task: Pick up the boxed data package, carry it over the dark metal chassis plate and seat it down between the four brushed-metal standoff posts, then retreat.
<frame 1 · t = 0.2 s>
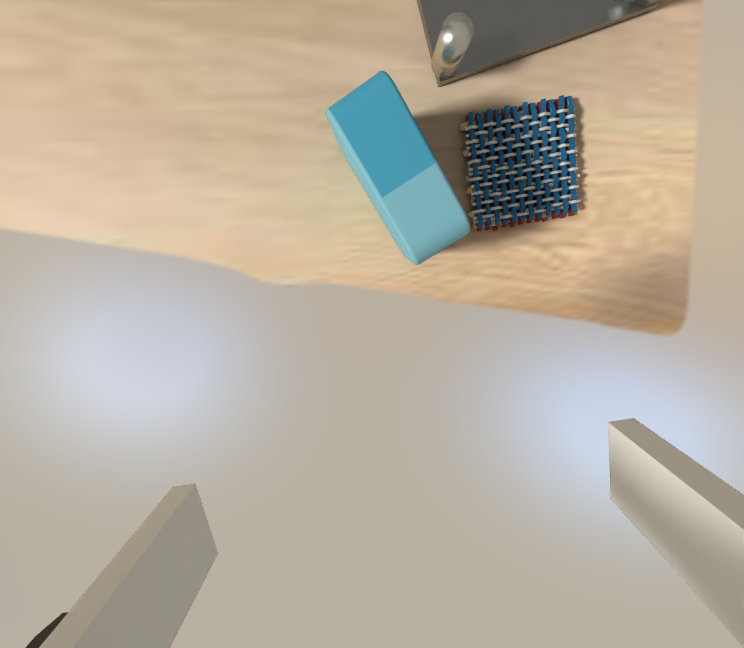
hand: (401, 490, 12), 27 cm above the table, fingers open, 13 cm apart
data package: (393, 193, 35), on the table
woven mat: (516, 170, 35), on the table
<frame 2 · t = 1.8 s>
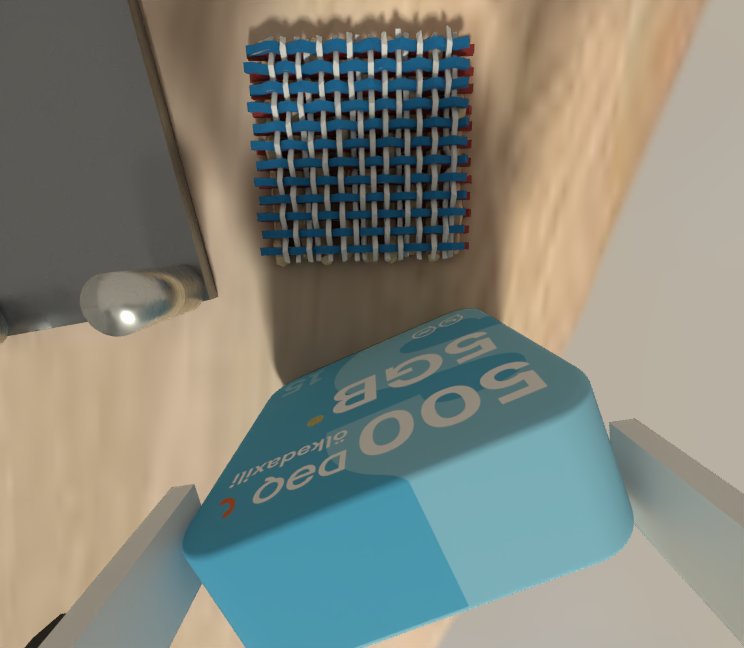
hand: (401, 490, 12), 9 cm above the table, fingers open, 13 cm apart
data package: (386, 379, 21), on the table
woven mat: (364, 161, 19), on the table
chassis: (35, 129, 18), on the table
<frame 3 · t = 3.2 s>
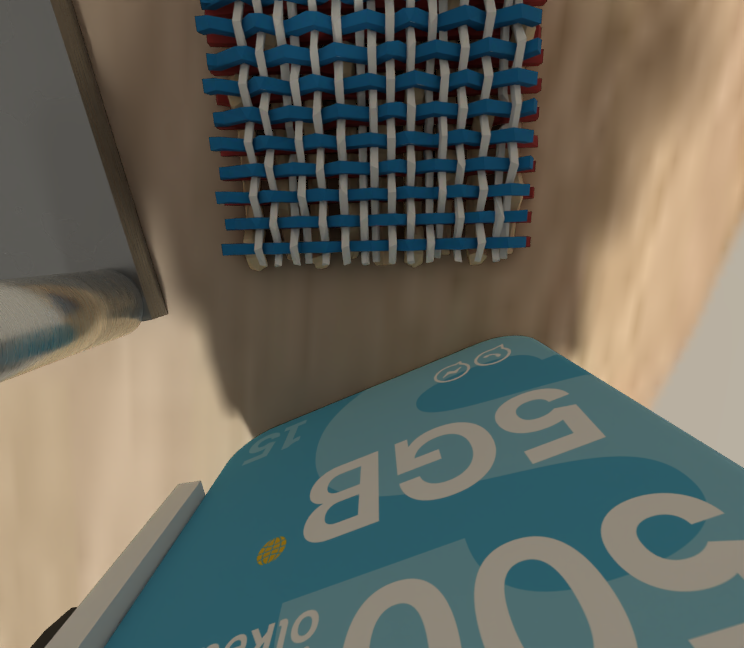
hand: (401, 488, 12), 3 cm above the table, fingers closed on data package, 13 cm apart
data package: (395, 429, 15), on the table, touching gripper
woven mat: (377, 118, 13), on the table
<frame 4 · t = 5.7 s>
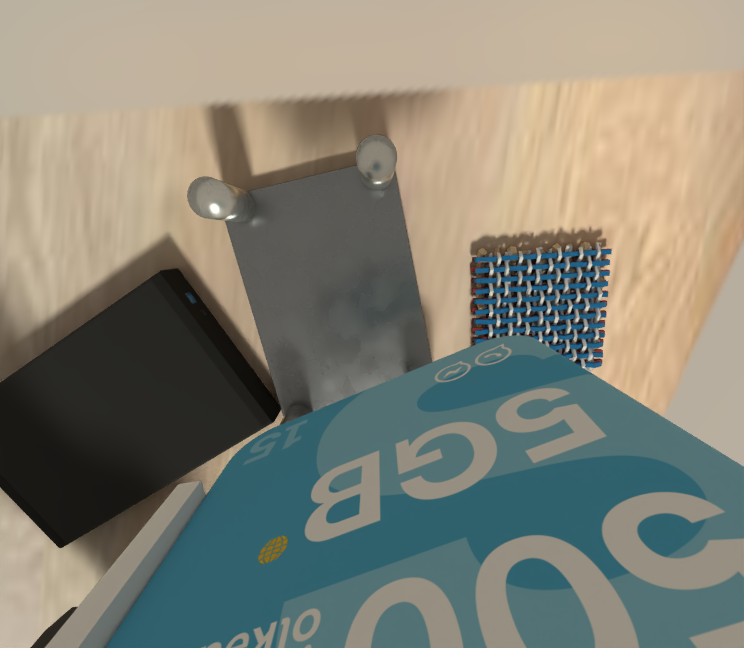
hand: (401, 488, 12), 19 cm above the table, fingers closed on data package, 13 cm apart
external hard drive: (131, 405, 32), on the table
data package: (395, 429, 15), point 15 cm above the table, touching gripper
woven mat: (532, 308, 30), on the table
chassis: (336, 302, 29), on the table
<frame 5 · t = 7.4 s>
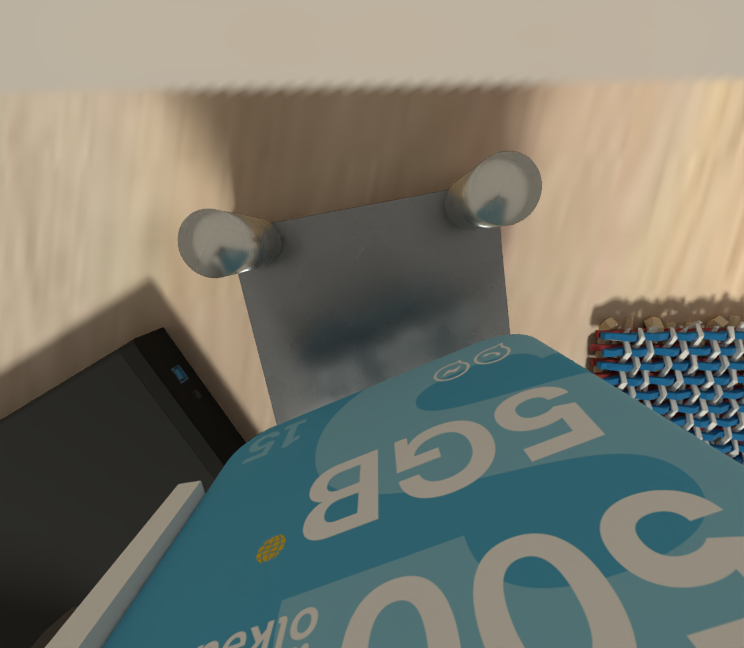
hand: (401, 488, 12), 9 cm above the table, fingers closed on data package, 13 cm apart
external hard drive: (91, 506, 23), on the table
data package: (394, 428, 15), point 5 cm above the table, touching gripper
woven mat: (664, 400, 21), on the table
chassis: (390, 383, 20), on the table
when the fingers open (6 cm above the table, at t = 8.6 s): data package drops 2 cm, resting on chassis.
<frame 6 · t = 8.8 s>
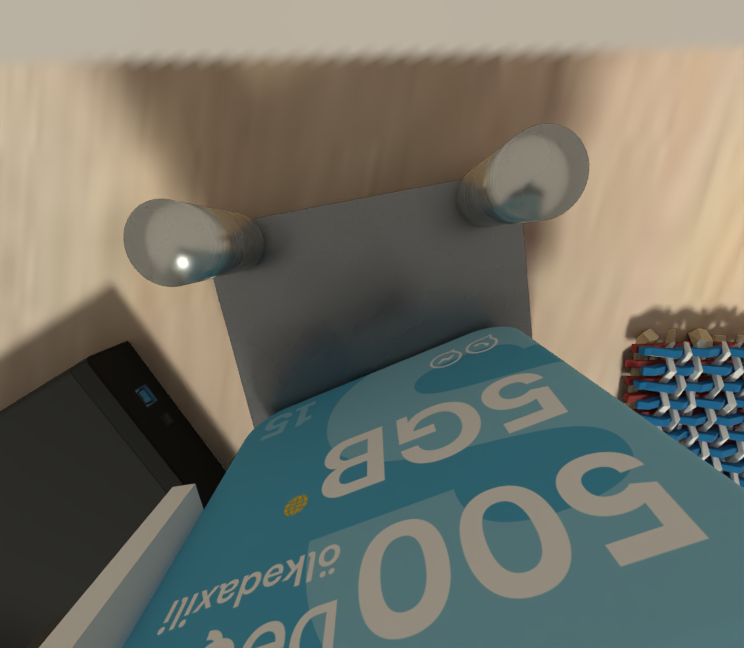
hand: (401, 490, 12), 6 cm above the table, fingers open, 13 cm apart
external hard drive: (54, 541, 20), on the table
data package: (394, 410, 17), point 1 cm above the table, touching chassis, gripper
woven mat: (708, 423, 18), on the table
chassis: (392, 404, 18), on the table
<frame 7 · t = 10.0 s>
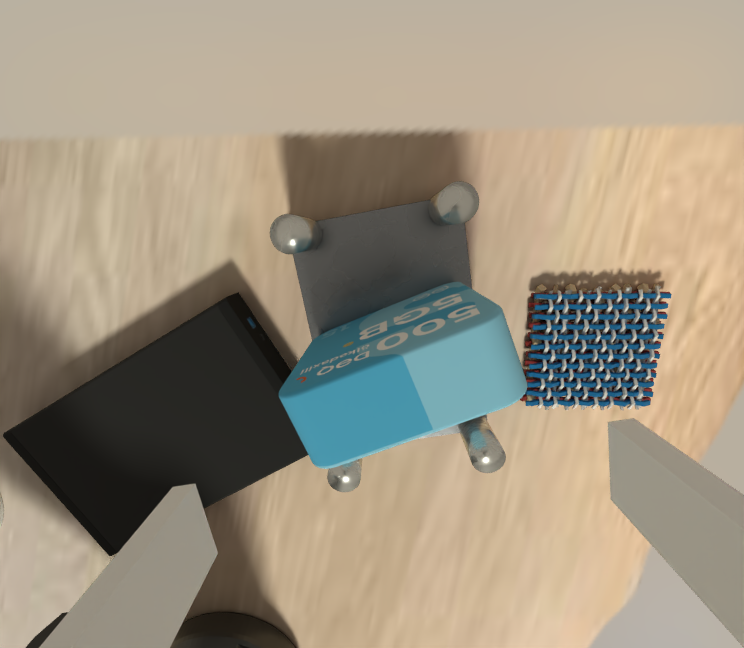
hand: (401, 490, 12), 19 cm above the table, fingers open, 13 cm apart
external hard drive: (183, 421, 33), on the table
data package: (394, 332, 29), point 1 cm above the table, touching chassis
woven mat: (584, 344, 30), on the table
chassis: (393, 330, 30), on the table
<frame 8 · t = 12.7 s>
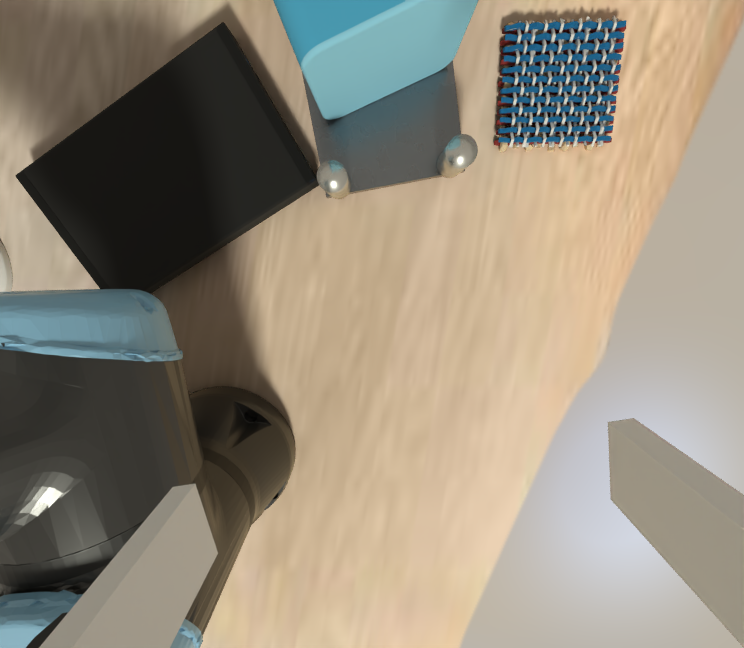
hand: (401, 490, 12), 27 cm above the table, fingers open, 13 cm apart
external hard drive: (183, 182, 35), on the table
data package: (378, 70, 32), point 1 cm above the table, touching chassis
woven mat: (551, 92, 33), on the table
chassis: (377, 74, 33), on the table
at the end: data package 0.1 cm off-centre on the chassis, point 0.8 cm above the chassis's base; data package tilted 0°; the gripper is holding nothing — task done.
